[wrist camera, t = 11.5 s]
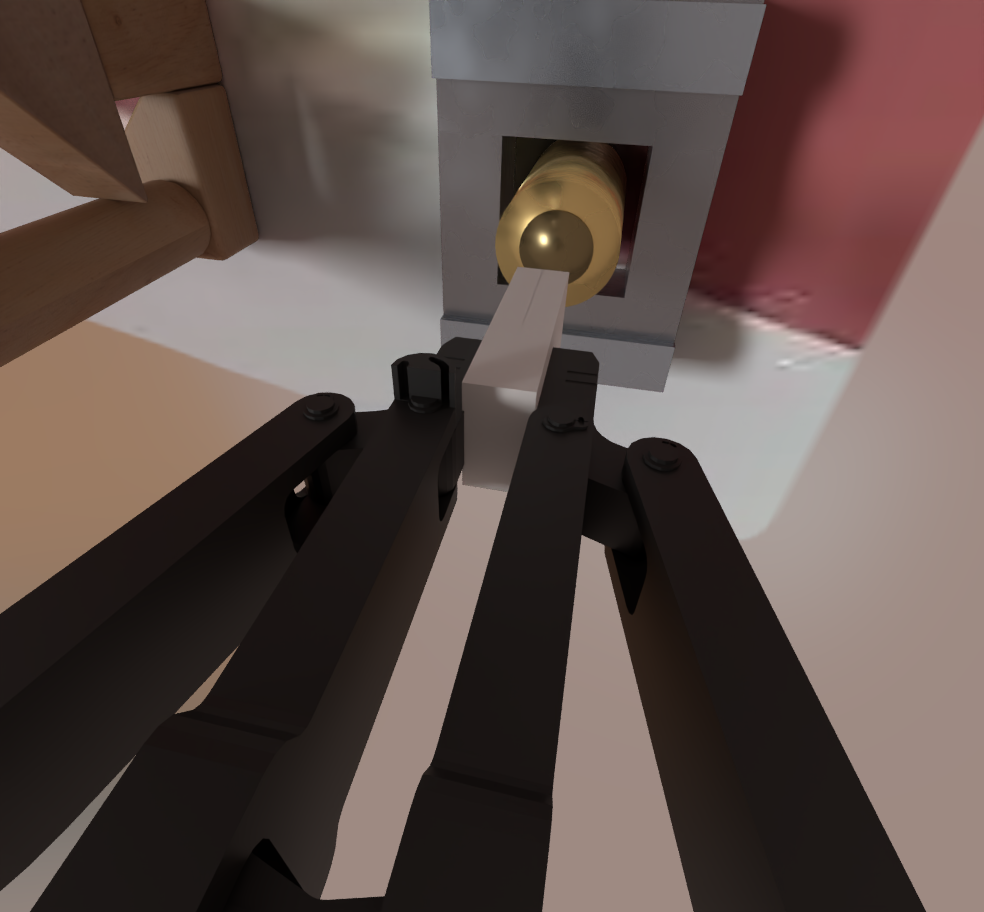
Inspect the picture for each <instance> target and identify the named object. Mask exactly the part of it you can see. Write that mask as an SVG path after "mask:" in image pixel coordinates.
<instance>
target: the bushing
mask: <svg viewBox="0 0 984 912" xmlns="http://www.w3.org/2000/svg"><path fill="white" fill-rule="evenodd" d="M626 187H627V179H626V172H625V168H624V165H623V162H622V160H621V158H620V156H619V155H618V153H617V152H616V151H615V150H614V148H613V147H612V146H611V145H609V144H608V143H601V142H586V141H572V140H557V141H556V142H554V143H553V144H551V145H550V146H549V147H548V148H547V149H546V150H545V151H544V152H543V153H542V155H541V156H540V158H539V159H538V161H537V162H536V164H535V165H534V167H533V168H532V170H531V171H530V173H529V175H528V176H527V178H526V179H525V181H524V182H523V184H522V185H521V187H520V188H519V190H518V191H517V193H516V194H515V196H514V197H513V199H512V201H511V202H510V204H509V205H508V207H507V208H506V210H505V211H504V213H503V215H502V217H501V219H500V221H499V225H498V228H497V232H496V240H495V249H496V257H497V261H498V264H499V267H500V270H501V272H502V274H503V276H504V277H505V279H506V281H507V282H508V283H509V284H510V282H511V280H512V278H513V275H514V273H515V271H516V269H517V267H525V268H534V269H544V270H553V271H563V272H569V279H568V287H567V296H566V304H565V307H569V306H573V305H577V304H579V303H582V302H584V301H586V300H588V299H590V298H591V297H593V296H594V295H596V294H597V293H598V292H599V291H600V290H601V289H602V288H603V287H604V286H605V285H606V284H607V282H608V281H609V279H610V278H611V276H612V275H613V273H614V271H615V268H616V265H617V263H618V259H619V254H620V245H621V236H622V226H623V217H624V207H625V198H626Z"/></svg>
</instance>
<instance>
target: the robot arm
mask: <svg viewBox="0 0 984 912" xmlns="http://www.w3.org/2000/svg"><path fill="white" fill-rule="evenodd" d="M568 279H569V272H563V271H553V270H544V269H534V268H525V267H517V269H516V271H515V273H514V275H513V278H512V280H511V282H510V284H509V286H508V288H507V290H506V292H505V294H504V296H503V298H502V300H501V302H500V304H499V307H498V309H497V311H496V313H495V315H494V317H493V319H492V321H491V323H490V325H489V327H488V329H487V331H486V333H485V336H484V338H483V340H479V339H471V338H463V337H454V338H453V339H451V340H449V341H448V342H446V343H445V344H443V345H442V346H441V348H440V350H439V351H438V353H437V354H432V353H417V354H411V355H407V356H404V357H402V358H399V359H397V360H396V361H395V362H394V363H393V364H392V365H391V368H392V378H393V388H394V398H395V399H394V401H393V403H392V404H391V406H390V407H389V409H387V410H381V411H369V412H355V406H354V403H353V402H352V401H351V399H350V398H348V397H346V396H344V395H342V394H336V393H326V392H325V393H316V394H313V395H309V396H306V397H304V398H302V399H300V400H298V401H296V402H295V403H293V404H292V405H291V406H289V407H288V408H286V409H285V410H284V411H282V412H281V413H280V414H278V415H277V416H275V417H274V418H273V419H271V420H270V421H269V422H267V423H266V424H264V425H263V426H261V427H260V428H259V429H257V430H256V431H254V432H253V433H252V434H250V435H249V436H247V437H246V438H245V439H243V440H242V441H241V442H239V443H238V444H236V445H235V446H234V447H232V448H231V449H229V450H228V451H227V452H225V453H224V454H222V455H221V456H220V457H218V458H217V459H215V460H214V461H213V462H211V463H210V464H208V465H207V466H206V467H204V468H203V469H202V470H200V471H199V472H197V473H196V474H195V475H193V476H192V477H190V478H189V479H188V480H186V481H185V482H183V483H182V484H181V485H179V486H178V487H176V488H175V489H174V490H172V491H171V492H170V493H168V494H167V495H165V496H164V497H162V498H161V499H160V500H158V501H157V502H156V503H154V504H153V505H151V506H150V507H149V508H147V509H146V510H144V511H143V512H142V513H140V514H139V515H137V516H136V517H135V518H133V519H132V520H130V521H129V522H128V523H126V524H125V525H123V526H122V527H121V528H119V529H118V530H117V531H115V532H114V533H113V534H111V535H110V536H108V537H107V538H106V539H104V540H103V541H101V542H100V543H98V544H97V545H96V546H94V547H93V548H91V549H90V550H89V551H87V552H86V553H85V554H83V555H82V556H80V557H79V558H78V559H76V560H75V561H73V562H72V563H71V564H69V565H68V566H66V567H65V568H64V569H62V570H61V571H59V572H58V573H57V574H55V575H54V576H52V577H51V578H50V579H48V580H47V581H46V582H44V583H43V584H41V585H40V586H39V587H37V588H36V589H34V590H33V591H32V592H30V593H29V594H27V595H26V596H25V597H23V598H22V599H20V600H19V601H18V602H16V603H15V604H13V605H12V606H11V607H9V608H8V609H6V610H5V611H4V612H2V613H1V614H0V891H1V890H2V889H3V888H4V887H6V885H8V884H9V883H10V882H11V881H12V880H14V879H15V878H16V877H17V876H18V875H19V874H20V873H22V872H23V871H24V870H25V869H26V868H27V867H28V866H29V865H30V864H31V863H32V862H33V861H34V860H35V859H36V858H37V857H38V856H39V855H40V854H41V853H42V852H43V851H45V849H46V848H47V847H49V846H50V845H51V844H52V842H54V841H55V839H57V837H58V836H60V835H61V834H62V833H63V832H64V831H65V829H67V827H69V825H70V824H71V823H72V822H73V821H74V820H75V819H76V818H77V817H78V816H79V815H80V814H81V813H82V812H83V811H84V810H85V808H86V807H87V806H88V805H89V804H90V803H91V802H92V801H93V800H94V799H95V798H96V797H97V796H98V795H99V794H100V792H101V791H102V790H103V789H104V788H105V787H106V786H107V785H108V784H109V783H110V782H111V781H112V779H114V778H115V777H116V775H117V774H118V773H119V772H120V771H121V770H122V769H123V768H124V767H125V766H126V765H127V764H128V763H129V762H130V761H131V759H132V758H133V757H134V756H135V755H136V754H137V755H136V756H135V757H134V759H133V761H132V762H131V764H130V765H129V766H128V768H127V769H126V771H125V772H124V774H123V775H122V777H121V778H120V780H119V781H118V783H117V784H116V786H115V787H114V789H113V790H112V791H111V793H110V794H109V796H108V797H107V799H106V800H105V802H104V803H103V805H102V806H101V808H100V809H99V811H98V812H97V814H96V815H95V817H94V818H93V819H92V821H91V823H90V824H89V825H88V827H87V828H86V830H85V831H84V833H83V835H82V836H81V837H80V839H79V840H78V842H77V843H76V845H75V846H74V848H73V849H72V851H71V852H70V853H69V855H68V857H67V858H66V859H65V861H64V862H63V864H62V866H61V867H60V868H59V870H58V871H57V873H56V874H55V876H54V877H53V879H52V880H51V882H50V883H49V885H48V886H47V887H46V889H45V891H44V892H43V893H42V895H41V896H40V898H39V899H38V901H37V902H36V904H35V905H34V907H33V908H32V910H31V911H30V912H542V907H543V898H544V888H545V880H546V871H547V862H548V852H549V843H550V833H551V822H552V808H553V804H552V803H553V801H552V791H553V780H554V771H555V763H556V754H557V745H558V735H559V728H560V719H561V710H562V701H563V692H564V684H565V675H566V666H567V657H568V648H569V640H570V631H571V622H572V613H573V605H574V596H575V588H576V578H577V570H578V561H579V553H580V544H581V535H583V536H585V537H588V538H590V539H592V540H594V541H597V542H599V543H601V544H603V545H605V557H606V560H607V564H608V569H609V573H610V577H611V580H612V584H613V589H614V593H615V597H616V601H617V605H618V609H619V613H620V617H621V621H622V625H623V629H624V633H625V637H626V641H627V645H628V649H629V653H630V657H631V661H632V665H633V669H634V673H635V677H636V681H637V685H638V689H639V694H640V698H641V702H642V706H643V709H644V713H645V717H646V721H647V726H648V730H649V734H650V738H651V742H652V746H653V750H654V754H655V758H656V762H657V766H658V770H659V774H660V778H661V782H662V786H663V790H664V794H665V798H666V802H667V806H668V810H669V814H670V818H671V822H672V826H673V830H674V834H675V839H676V842H677V847H678V851H679V854H680V858H681V863H682V867H683V870H684V875H685V879H686V882H687V887H688V891H689V895H690V899H691V903H692V907H693V911H694V912H926V911H925V909H924V907H923V905H922V903H921V901H920V899H919V897H918V895H917V893H916V891H915V889H914V887H913V885H912V883H911V881H910V879H909V877H908V875H907V873H906V871H905V869H904V867H903V865H902V863H901V861H900V859H899V857H898V855H897V853H896V851H895V849H894V847H893V846H892V843H891V841H890V840H889V837H888V835H887V834H886V831H885V829H884V828H883V826H882V824H881V822H880V820H879V818H878V816H877V814H876V812H875V810H874V808H873V806H872V804H871V802H870V800H869V798H868V796H867V794H866V792H865V791H864V788H863V786H862V784H861V782H860V780H859V778H858V776H857V774H856V772H855V771H854V768H853V766H852V764H851V762H850V760H849V758H848V756H847V754H846V753H845V750H844V749H843V747H842V744H841V743H840V741H839V739H838V737H837V735H836V733H835V731H834V729H833V727H832V725H831V723H830V721H829V719H828V717H827V715H826V713H825V711H824V709H823V707H822V705H821V703H820V701H819V699H818V697H817V695H816V693H815V691H814V689H813V687H812V685H811V683H810V682H809V679H808V677H807V675H806V674H805V672H804V669H803V667H802V666H801V663H800V661H799V660H798V658H797V656H796V654H795V652H794V650H793V648H792V646H791V644H790V642H789V640H788V638H787V636H786V634H785V632H784V630H783V628H782V626H781V624H780V622H779V620H778V618H777V616H776V614H775V612H774V610H773V608H772V606H771V604H770V602H769V600H768V598H767V596H766V594H765V592H764V590H763V588H762V586H761V584H760V582H759V580H758V578H757V577H756V575H755V573H754V571H753V569H752V567H751V565H750V563H749V561H748V559H747V557H746V555H745V553H744V551H743V549H742V547H741V545H740V543H739V541H738V539H737V537H736V535H735V533H734V531H733V529H732V527H731V525H730V523H729V521H728V519H727V517H726V515H725V513H724V511H723V509H722V507H721V505H720V503H719V501H718V499H717V497H716V495H715V493H714V492H713V490H712V488H711V486H710V484H709V482H708V480H707V478H706V476H705V474H704V472H703V470H702V468H701V466H700V464H699V462H698V460H697V458H696V457H695V456H694V455H693V453H692V452H691V451H690V450H689V449H687V448H686V447H684V446H683V445H681V444H680V443H677V442H674V441H671V440H668V439H663V438H655V437H651V438H643V439H639V440H637V441H635V442H633V443H631V445H630V446H629V448H625V447H623V446H620V445H617V444H615V443H613V442H611V441H609V440H608V439H606V438H605V437H603V436H602V435H601V434H600V433H599V432H598V431H597V430H596V428H595V426H594V420H593V417H594V409H595V400H596V391H597V382H598V373H599V364H600V363H599V361H598V360H597V358H596V357H595V355H594V354H593V352H588V351H580V350H572V349H564V348H560V346H561V338H562V329H563V321H564V312H565V304H566V296H567V287H568ZM461 471H462V473H463V474H462V475H463V476H462V477H463V478H462V481H463V485H468V486H474V487H480V488H486V489H492V490H499V491H505V492H508V493H507V497H506V501H505V504H504V508H503V511H502V515H501V519H500V522H499V526H498V529H497V533H496V537H495V540H494V544H493V547H492V551H491V554H490V558H489V561H488V565H487V569H486V572H485V576H484V580H483V583H482V587H481V590H480V594H479V597H478V601H477V605H476V608H475V612H474V615H473V619H472V622H471V626H470V630H469V633H468V637H467V640H466V644H465V647H464V651H463V655H462V658H461V662H460V665H459V669H458V672H457V676H456V680H455V683H454V687H453V690H452V694H451V698H450V701H449V705H448V708H447V712H446V716H445V719H444V723H443V726H442V730H441V734H440V737H439V741H438V744H437V748H436V751H435V754H434V757H433V760H432V762H431V764H430V766H429V768H428V769H427V770H426V771H425V772H424V773H423V775H422V778H421V780H420V783H419V785H418V787H417V790H416V793H415V796H414V799H413V802H412V805H411V808H410V812H409V815H408V818H407V822H406V825H405V829H404V832H403V835H402V839H401V843H400V846H399V849H398V853H397V856H396V859H395V863H394V867H393V870H392V873H391V877H390V880H389V883H388V887H387V890H386V894H385V896H383V897H367V898H352V899H336V900H320V897H321V894H322V891H323V889H324V886H325V883H326V880H327V877H328V874H329V870H330V868H331V864H332V860H333V856H334V851H335V846H336V837H337V830H338V823H339V819H340V815H341V812H342V808H343V805H344V803H345V800H346V797H347V795H348V792H349V789H350V786H351V784H352V781H353V778H354V776H355V773H356V770H357V768H358V765H359V762H360V759H361V757H362V754H363V751H364V748H365V746H366V743H367V740H368V738H369V735H370V732H371V730H372V727H373V725H374V722H375V719H376V716H377V714H378V711H379V708H380V706H381V703H382V700H383V698H384V695H385V692H386V689H387V687H388V684H389V681H390V679H391V676H392V673H393V671H394V668H395V665H396V662H397V660H398V657H399V655H400V652H401V649H402V646H403V644H404V641H405V638H406V636H407V633H408V630H409V628H410V625H411V622H412V620H413V617H414V614H415V611H416V609H417V606H418V603H419V601H420V598H421V595H422V593H423V590H424V587H425V585H426V582H427V579H428V576H429V574H430V571H431V568H432V566H433V563H434V560H435V557H436V555H437V552H438V550H439V547H440V544H441V541H442V539H443V536H444V533H445V531H446V528H447V525H448V523H449V520H450V517H451V514H452V512H453V509H454V506H455V504H456V501H457V481H458V478H459V476H460V473H461ZM303 480H304V481H305V485H306V487H305V488H303V489H302V490H301V491H300V492H298V493H296V494H295V492H294V488H295V487H296V486H298V485H299V484H300V483H301V482H302V481H303ZM238 646H239V647H238ZM237 647H238V648H237ZM236 648H237V650H236V651H235V653H234V655H233V656H232V658H231V659H230V661H229V663H228V664H227V666H226V667H225V669H224V670H223V672H222V673H221V675H220V677H219V678H218V680H217V682H216V683H215V685H214V686H213V688H212V689H211V691H210V693H209V694H208V695H207V697H206V698H205V699H204V701H203V702H202V703H201V704H200V705H199V706H197V707H196V708H195V709H194V710H191V711H186V712H182V713H177V714H175V713H176V712H177V710H178V709H179V708H180V707H181V706H182V705H183V704H184V703H185V702H186V701H187V700H188V699H189V698H190V697H191V696H192V695H193V694H194V692H195V691H196V690H197V689H198V688H199V687H200V686H201V685H202V684H203V683H204V682H205V681H206V680H207V679H208V677H209V676H210V675H211V674H212V673H213V672H214V671H215V670H216V669H217V668H218V667H219V666H220V665H221V663H223V661H225V659H226V658H227V657H228V656H229V655H230V654H231V653H232V652H233V651H234V650H235V649H236Z"/></svg>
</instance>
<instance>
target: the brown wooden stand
mask: <svg viewBox="0 0 984 912" xmlns="http://www.w3.org/2000/svg"><path fill="white" fill-rule="evenodd" d="M221 80H222V71H221V67H220V62H219V58H218V53H217V49H216V45H215V40H214V36H213V32H212V27H211V23H210V19H209V14H208V10H207V6H206V1H205V0H0V147H1V148H2V149H4V150H5V151H7V152H8V153H10V154H11V155H13V156H14V157H16V158H17V159H19V160H20V161H22V162H23V163H25V164H26V165H28V166H29V167H31V168H32V169H34V170H35V171H37V172H38V173H40V174H41V175H43V176H44V177H46V178H47V179H49V180H50V181H52V182H53V183H55V184H56V185H58V186H59V187H61V188H63V189H64V190H66V191H67V192H69V193H70V194H72V195H73V196H83V197H92V198H99V199H96V200H94V201H91V202H88V203H85V204H82V205H79V206H76V207H74V208H71V209H68V210H65V211H62V212H59V213H56V214H54V215H51V216H48V217H45V218H42V219H39V220H36V221H34V222H31V223H28V224H25V225H22V226H19V227H17V228H14V229H11V230H8V231H5V232H2V233H0V367H2V366H3V365H5V364H7V363H9V362H10V361H12V360H14V359H16V358H18V357H19V356H21V355H23V354H25V353H26V352H28V351H30V350H32V349H34V348H35V347H37V346H39V345H41V344H42V343H44V342H46V341H48V340H50V339H52V338H53V337H55V336H57V335H59V334H60V333H62V332H64V331H66V330H67V329H69V328H71V327H73V326H75V325H76V324H78V323H80V322H82V321H84V320H85V319H87V318H89V317H91V316H93V315H94V314H96V313H98V312H100V311H101V310H103V309H105V308H107V307H109V306H110V305H112V304H114V303H116V302H117V301H119V300H121V299H123V298H125V297H126V296H128V295H130V294H132V293H134V292H135V291H137V290H139V289H141V288H142V287H144V286H146V285H148V284H150V283H151V282H153V281H155V280H157V279H158V278H160V277H162V276H164V275H166V274H167V273H169V272H171V271H173V270H175V269H176V268H178V267H180V266H182V265H183V264H185V263H187V262H189V261H191V260H192V259H194V258H196V257H197V258H205V259H214V260H226V259H228V258H229V257H231V256H233V255H234V254H236V253H238V252H239V251H241V250H242V249H244V248H246V247H247V246H249V245H251V244H252V243H254V242H256V241H257V240H258V238H259V234H258V230H257V225H256V221H255V217H254V212H253V208H252V203H251V199H250V195H249V190H248V186H247V182H246V177H245V173H244V169H243V164H242V160H241V156H240V151H239V147H238V143H237V138H236V134H235V130H234V125H233V121H232V116H231V112H230V108H229V103H228V99H227V95H226V91H225V89H224V87H223V86H221V85H219V84H217V83H218V82H220V81H221ZM135 97H140V98H139V100H138V103H137V105H136V107H135V109H134V111H133V113H132V116H131V118H130V120H129V122H128V124H127V126H126V129H125V131H124V128H123V125H122V122H121V119H120V116H119V113H118V110H117V107H116V104H115V101H118V100H124V99H130V98H135Z"/></svg>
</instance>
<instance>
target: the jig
mask: <svg viewBox="0 0 984 912" xmlns="http://www.w3.org/2000/svg"><path fill="white" fill-rule="evenodd" d="M766 5H767V4H764V0H429V7H430V36H431V65H432V78H437V110H438V143H439V176H440V210H441V243H442V276H443V309H444V315H443V316H442V318H441V319H440V326H441V346H442V345H443V344H445V343H446V342H448V341H449V340H451V339H453V338H454V337H463V338H471V339H479V340H483V338H484V336H485V333H486V331H487V329H488V327H489V325H490V323H491V321H492V319H493V317H494V315H495V313H496V311H497V309H498V307H499V304H500V302H501V300H502V298H503V296H504V294H505V292H506V290H507V288H508V286H509V283H508V282H507V281H506V279H505V277H504V276H503V274H502V272H501V270H500V267H499V264H498V261H497V257H496V249H495V240H496V232H497V228H498V225H499V221H500V219H501V217H502V215H503V213H504V211H505V210H506V208H507V207H508V205H509V204H510V202H511V201H512V199H513V196H514V176H515V155H516V137H529V138H543V139H558V140H572V141H586V142H601V143H615V144H629V145H644V146H648V152H647V157H646V163H645V168H644V173H643V179H642V184H641V190H640V195H639V200H638V206H637V211H636V217H635V222H634V228H633V233H632V238H631V244H630V249H629V255H628V260H627V265H626V270H623V269H615V271H614V273H613V275H612V276H611V278H610V279H609V281H608V282H607V284H606V285H605V286H604V287H603V288H602V289H601V290H600V291H599V292H598V293H597V294H596V295H594V296H593V297H591V298H590V299H588V300H586V301H584V302H582V303H579V304H577V305H573V306H569V307H565V312H564V321H563V329H562V338H561V346H560V348H564V349H572V350H580V351H588V352H593V354H594V355H595V357H596V358H597V360H598V361H599V363H600V364H599V373H598V382H597V384H603V385H610V386H618V387H625V388H633V389H641V390H648V391H656V392H663V391H664V387H665V383H666V380H667V376H668V372H669V368H670V365H671V361H672V357H673V353H674V350H675V343H674V341H675V337H676V333H677V330H678V326H679V322H680V318H681V314H682V311H683V307H684V303H685V299H686V296H687V292H688V288H689V284H690V280H691V277H692V273H693V269H694V265H695V261H696V258H697V254H698V250H699V246H700V242H701V239H702V235H703V231H704V227H705V224H706V220H707V216H708V212H709V208H710V205H711V201H712V197H713V193H714V189H715V186H716V182H717V178H718V174H719V170H720V167H721V163H722V159H723V155H724V151H725V148H726V144H727V140H728V136H729V133H730V129H731V125H732V121H733V117H734V114H735V110H736V106H737V102H738V98H739V95H743V91H744V87H745V83H746V80H747V76H748V72H749V68H750V65H751V61H752V57H753V53H754V50H755V46H756V42H757V38H758V35H759V31H760V27H761V23H762V20H763V16H764V12H765V8H766Z"/></svg>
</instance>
